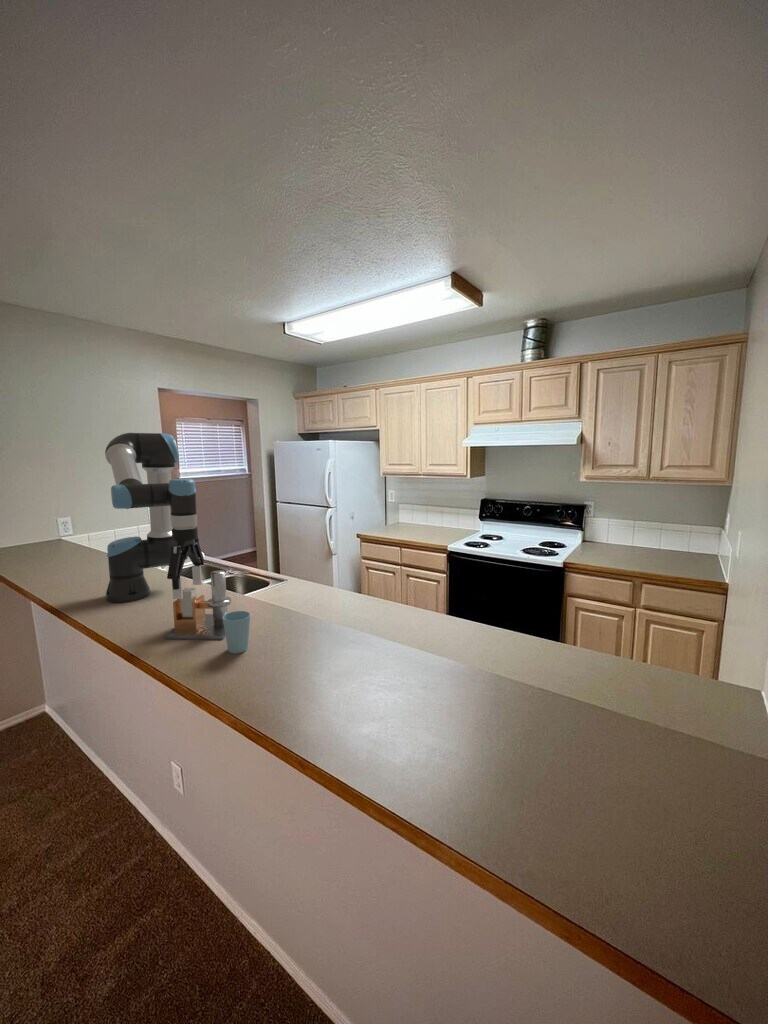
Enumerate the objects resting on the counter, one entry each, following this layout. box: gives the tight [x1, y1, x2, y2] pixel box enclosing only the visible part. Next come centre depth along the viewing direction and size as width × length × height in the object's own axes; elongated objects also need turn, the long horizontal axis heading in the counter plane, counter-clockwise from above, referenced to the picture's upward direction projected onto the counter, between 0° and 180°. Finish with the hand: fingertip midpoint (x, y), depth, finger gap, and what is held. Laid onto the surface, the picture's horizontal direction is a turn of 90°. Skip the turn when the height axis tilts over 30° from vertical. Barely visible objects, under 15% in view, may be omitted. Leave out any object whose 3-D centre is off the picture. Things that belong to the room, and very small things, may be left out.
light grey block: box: [181, 587, 197, 619], centre depth 140 cm, size 3×3×12 cm
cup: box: [222, 610, 251, 654], centre depth 125 cm, size 8×8×10 cm
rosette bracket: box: [164, 569, 232, 640], centre depth 140 cm, size 18×18×19 cm
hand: (188, 591), depth 139 cm, fingers open, 13 cm apart
